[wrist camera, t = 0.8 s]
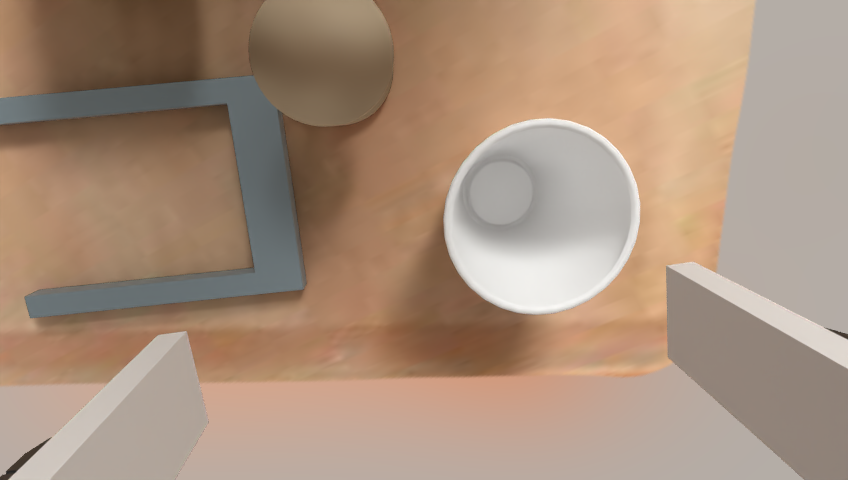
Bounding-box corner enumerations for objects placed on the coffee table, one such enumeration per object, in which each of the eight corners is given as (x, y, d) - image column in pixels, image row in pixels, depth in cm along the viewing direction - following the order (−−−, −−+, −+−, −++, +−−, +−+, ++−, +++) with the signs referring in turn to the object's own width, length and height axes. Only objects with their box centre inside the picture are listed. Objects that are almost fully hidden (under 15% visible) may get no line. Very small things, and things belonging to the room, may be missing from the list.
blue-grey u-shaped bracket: (44, 310, 38) (30, 318, 36) (-10, 101, 35) (-27, 100, 33) (306, 283, 38) (303, 289, 37) (276, 75, 35) (271, 73, 34)
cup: (457, 282, 39) (483, 343, 28) (407, 150, 37) (413, 163, 26) (588, 231, 39) (664, 274, 28) (545, 96, 37) (609, 86, 26)
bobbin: (276, 17, 35) (237, -18, 26) (387, 7, 35) (385, -31, 26) (292, 130, 36) (260, 132, 27) (398, 120, 36) (400, 119, 28)
